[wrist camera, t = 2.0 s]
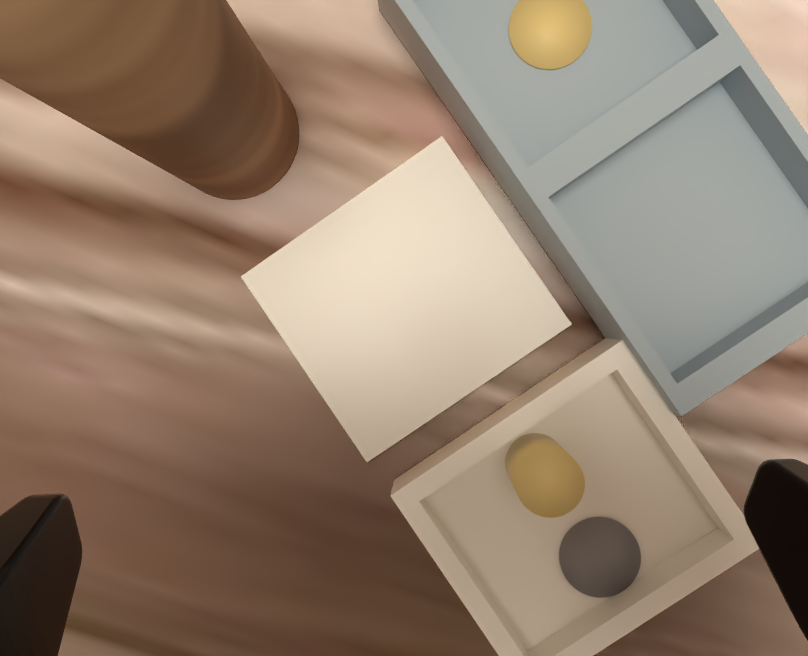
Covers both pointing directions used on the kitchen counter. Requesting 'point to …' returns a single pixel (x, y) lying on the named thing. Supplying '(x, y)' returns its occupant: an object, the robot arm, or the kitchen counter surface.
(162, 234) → the kitchen counter surface
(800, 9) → the kitchen counter surface
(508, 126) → the socket board
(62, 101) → the walnut peg
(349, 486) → the kitchen counter surface
